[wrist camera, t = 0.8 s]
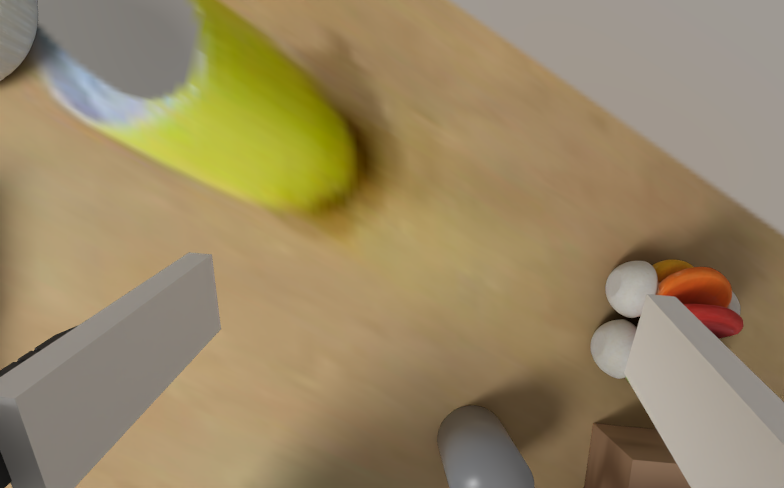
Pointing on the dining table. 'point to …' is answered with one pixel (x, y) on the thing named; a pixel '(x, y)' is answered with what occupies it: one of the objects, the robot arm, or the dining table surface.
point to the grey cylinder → (480, 451)
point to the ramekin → (16, 32)
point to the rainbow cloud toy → (668, 278)
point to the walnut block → (630, 459)
